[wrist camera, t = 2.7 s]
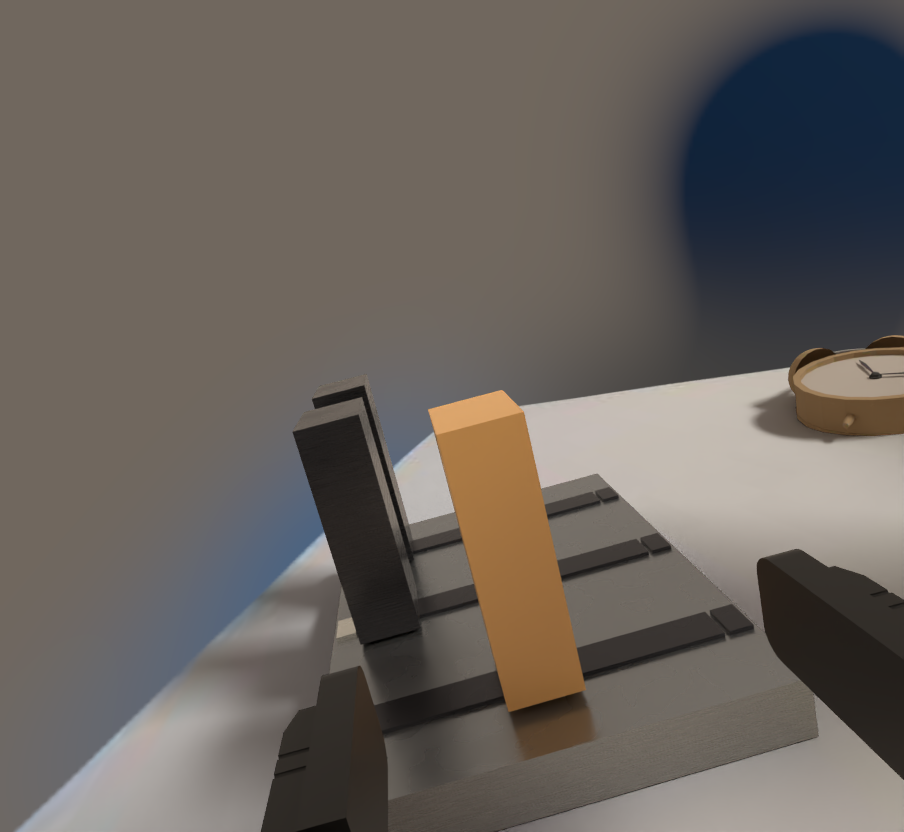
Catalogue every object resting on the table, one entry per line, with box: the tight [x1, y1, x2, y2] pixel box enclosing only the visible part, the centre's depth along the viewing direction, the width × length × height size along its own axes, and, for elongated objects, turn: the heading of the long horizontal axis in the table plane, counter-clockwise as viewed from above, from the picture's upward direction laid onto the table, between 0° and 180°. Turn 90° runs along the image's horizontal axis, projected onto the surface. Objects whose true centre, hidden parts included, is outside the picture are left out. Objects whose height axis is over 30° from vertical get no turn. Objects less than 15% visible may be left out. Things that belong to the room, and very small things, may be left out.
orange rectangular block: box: [428, 390, 586, 712], centre depth 24 cm, size 3×4×11 cm
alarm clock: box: [788, 335, 904, 436], centre depth 51 cm, size 11×5×15 cm
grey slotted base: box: [293, 374, 818, 832], centre depth 32 cm, size 18×23×14 cm
